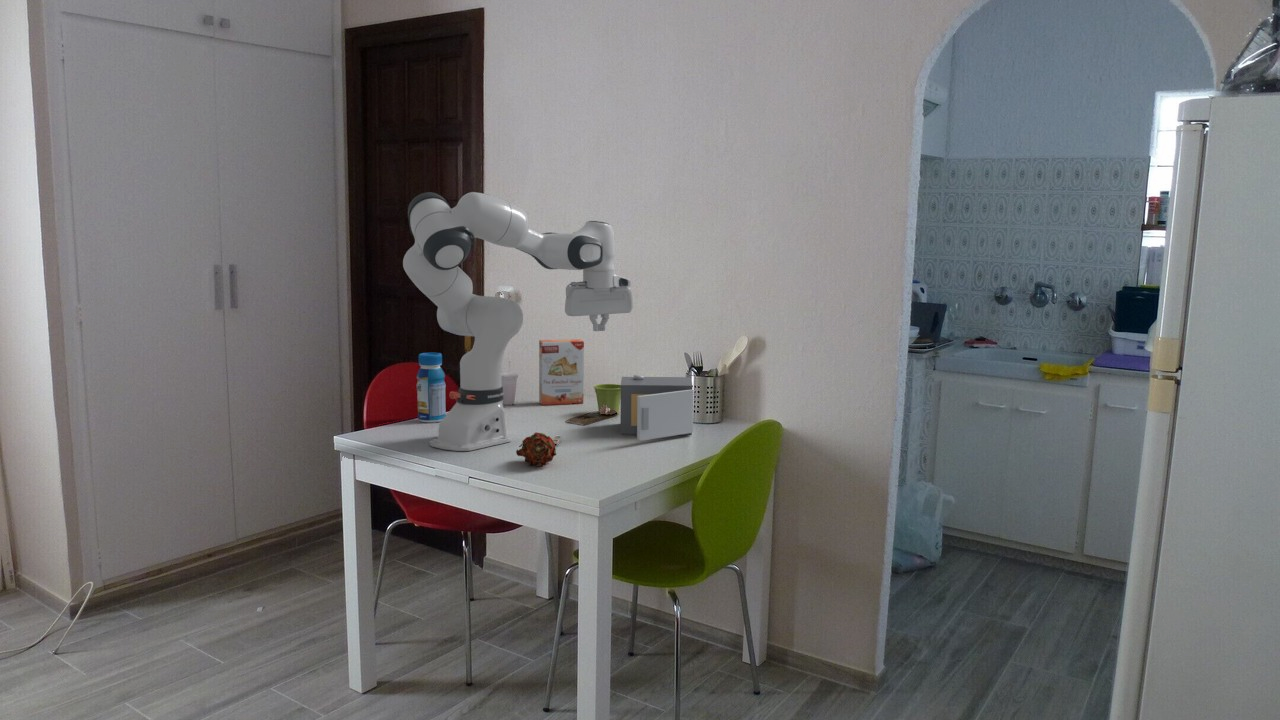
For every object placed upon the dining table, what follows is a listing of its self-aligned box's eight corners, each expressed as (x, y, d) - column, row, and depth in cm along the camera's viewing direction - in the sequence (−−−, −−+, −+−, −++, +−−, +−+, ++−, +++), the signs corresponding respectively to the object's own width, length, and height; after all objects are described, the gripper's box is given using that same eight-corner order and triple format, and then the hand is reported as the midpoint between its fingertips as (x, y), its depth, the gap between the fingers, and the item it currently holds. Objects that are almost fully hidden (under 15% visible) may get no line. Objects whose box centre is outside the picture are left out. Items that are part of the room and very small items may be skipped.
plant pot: (591, 411, 290) (591, 384, 289) (620, 410, 292) (621, 383, 291) (595, 417, 281) (595, 389, 280) (626, 416, 283) (626, 388, 282)
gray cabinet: (691, 435, 258) (692, 382, 256) (620, 434, 258) (620, 381, 256) (689, 423, 272) (690, 373, 270) (621, 423, 273) (621, 373, 270)
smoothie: (517, 405, 298) (517, 362, 296) (497, 405, 298) (497, 362, 296) (519, 401, 304) (518, 359, 302) (499, 401, 304) (499, 359, 302)
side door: (694, 433, 256) (695, 390, 254) (641, 441, 246) (641, 397, 244) (690, 431, 258) (690, 389, 256) (637, 440, 248) (637, 396, 246)
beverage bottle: (443, 423, 271) (441, 356, 268) (414, 423, 271) (412, 355, 268) (449, 417, 280) (447, 351, 277) (421, 417, 280) (419, 351, 277)
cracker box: (541, 406, 298) (541, 341, 295) (538, 402, 304) (538, 339, 300) (584, 404, 302) (584, 340, 298) (580, 400, 307) (580, 338, 304)
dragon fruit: (546, 477, 221) (525, 472, 231) (570, 452, 224) (549, 449, 235) (525, 451, 218) (505, 448, 228) (549, 426, 222) (529, 424, 232)
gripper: (571, 282, 245) (572, 334, 247) (635, 280, 256) (635, 329, 259) (560, 281, 250) (560, 332, 252) (623, 278, 262) (623, 327, 264)
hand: (599, 330), depth 256 cm, fingers closed
